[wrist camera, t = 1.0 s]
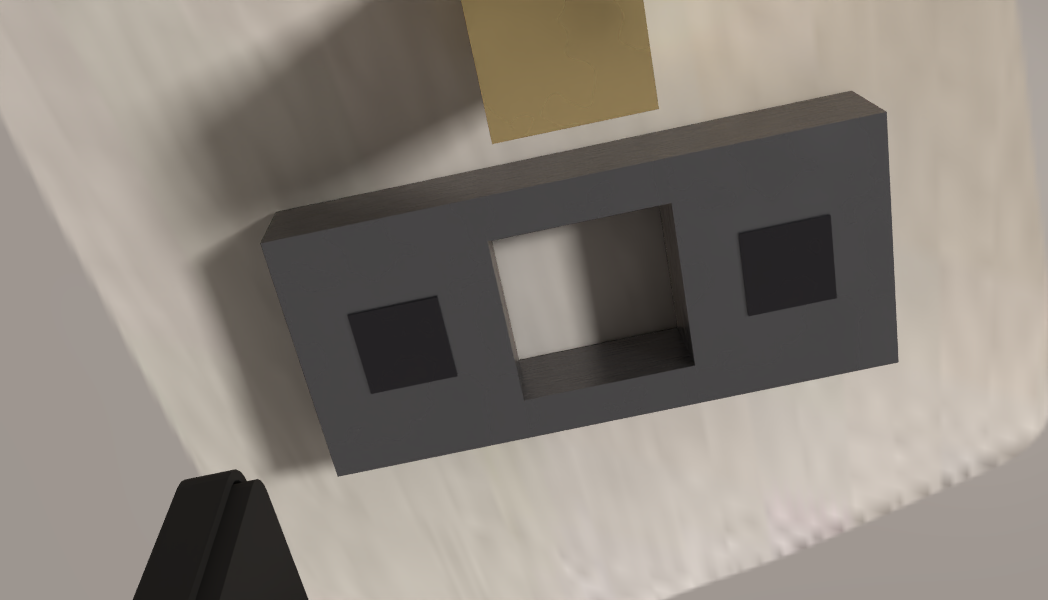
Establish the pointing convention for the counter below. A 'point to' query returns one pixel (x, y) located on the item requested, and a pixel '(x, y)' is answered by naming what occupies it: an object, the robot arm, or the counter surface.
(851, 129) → the grey peg hole board
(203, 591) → the robot arm
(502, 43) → the brass peg
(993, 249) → the counter surface
